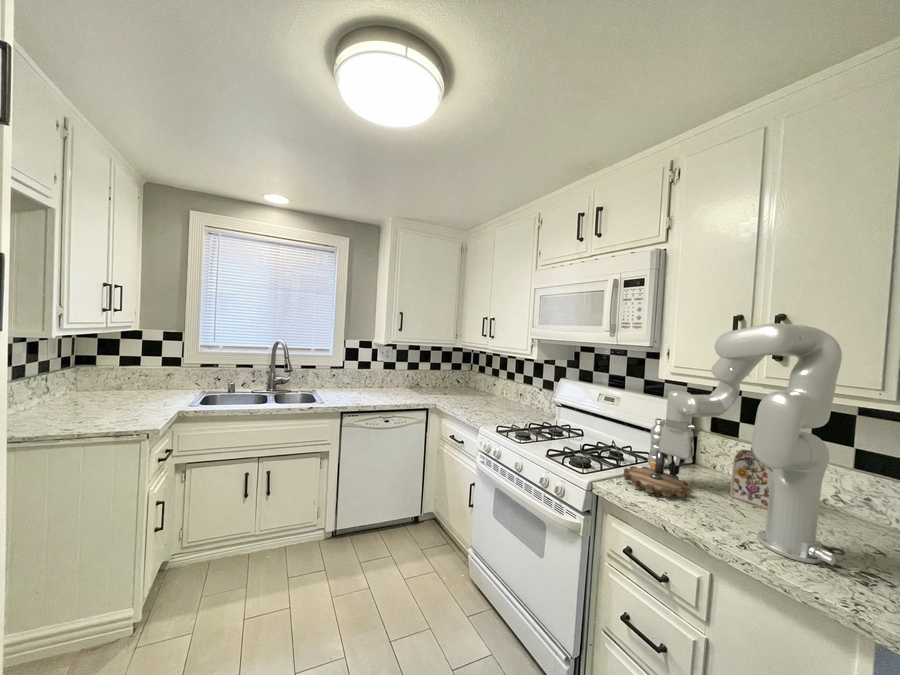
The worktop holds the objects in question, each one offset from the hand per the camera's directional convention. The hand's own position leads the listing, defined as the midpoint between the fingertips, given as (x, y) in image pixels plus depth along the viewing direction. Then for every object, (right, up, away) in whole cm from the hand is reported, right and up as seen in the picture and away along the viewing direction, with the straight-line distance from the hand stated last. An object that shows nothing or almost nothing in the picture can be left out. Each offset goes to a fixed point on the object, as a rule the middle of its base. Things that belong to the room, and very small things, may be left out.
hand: (673, 474), depth 130 cm
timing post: (-2, -4, +10) cm, 11 cm away
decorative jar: (+24, -7, -6) cm, 26 cm away
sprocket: (-8, -3, -1) cm, 8 cm away
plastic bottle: (+5, -4, +20) cm, 21 cm away
